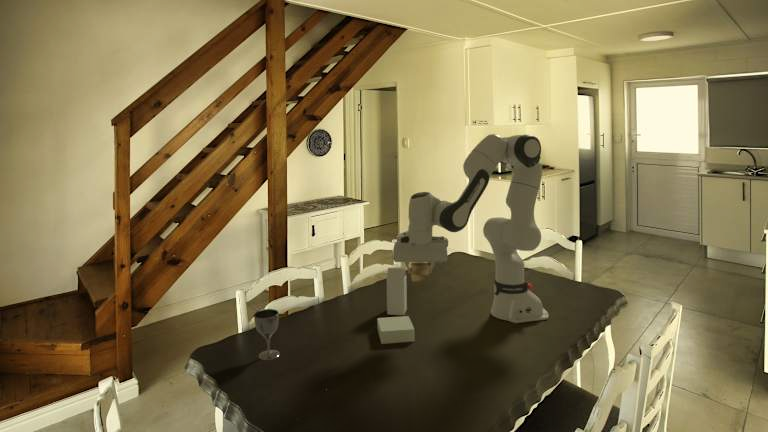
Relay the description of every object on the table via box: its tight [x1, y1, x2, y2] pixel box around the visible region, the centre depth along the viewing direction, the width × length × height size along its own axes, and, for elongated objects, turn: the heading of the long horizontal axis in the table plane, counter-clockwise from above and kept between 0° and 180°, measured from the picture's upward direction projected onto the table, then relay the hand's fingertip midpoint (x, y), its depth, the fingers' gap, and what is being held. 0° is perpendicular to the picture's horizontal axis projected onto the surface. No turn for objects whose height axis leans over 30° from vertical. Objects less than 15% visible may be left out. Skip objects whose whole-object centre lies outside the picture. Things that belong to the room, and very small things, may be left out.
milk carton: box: [386, 267, 408, 316], centre depth 192 cm, size 7×7×19 cm
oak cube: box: [410, 262, 430, 282], centre depth 173 cm, size 6×6×6 cm
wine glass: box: [253, 308, 281, 361], centre depth 158 cm, size 8×8×15 cm
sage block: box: [376, 315, 416, 345], centre depth 172 cm, size 12×12×5 cm
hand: (419, 272), depth 173 cm, fingers closed on oak cube, 6 cm apart
